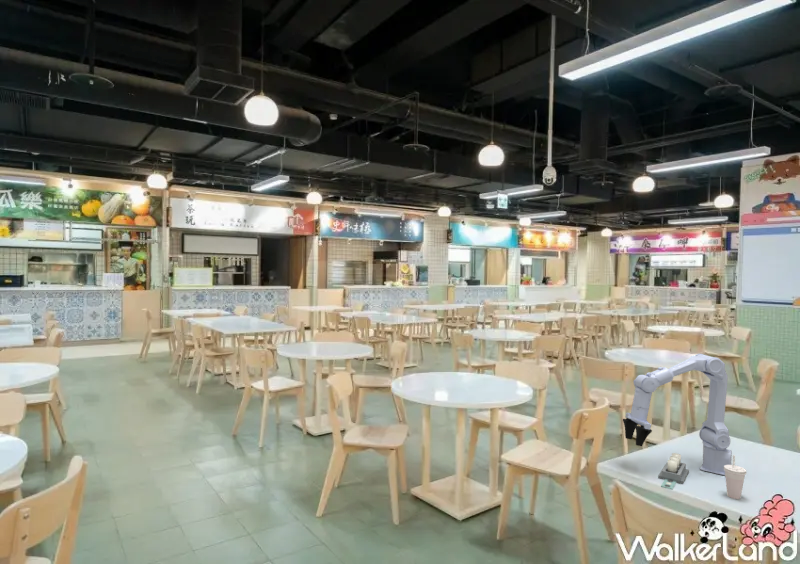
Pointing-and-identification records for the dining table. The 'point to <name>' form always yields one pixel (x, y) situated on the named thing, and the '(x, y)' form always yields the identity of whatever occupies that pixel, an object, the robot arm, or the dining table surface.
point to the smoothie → (734, 480)
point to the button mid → (675, 460)
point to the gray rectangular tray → (674, 474)
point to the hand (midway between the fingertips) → (633, 442)
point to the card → (668, 484)
